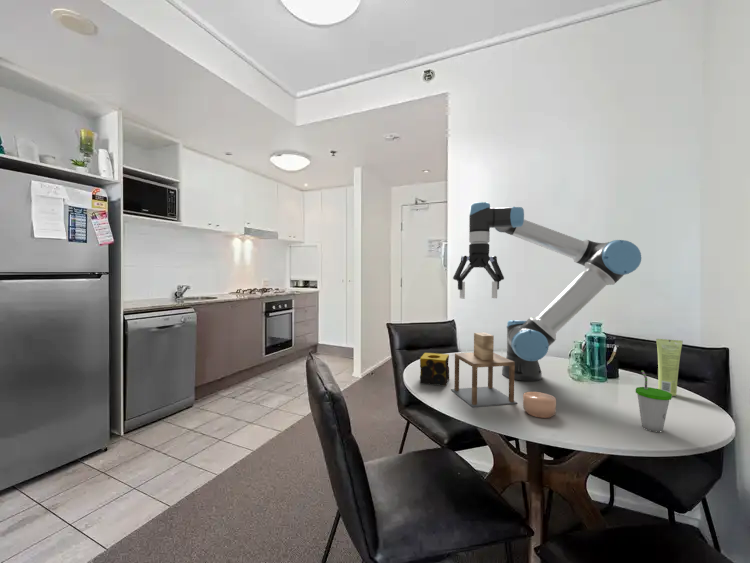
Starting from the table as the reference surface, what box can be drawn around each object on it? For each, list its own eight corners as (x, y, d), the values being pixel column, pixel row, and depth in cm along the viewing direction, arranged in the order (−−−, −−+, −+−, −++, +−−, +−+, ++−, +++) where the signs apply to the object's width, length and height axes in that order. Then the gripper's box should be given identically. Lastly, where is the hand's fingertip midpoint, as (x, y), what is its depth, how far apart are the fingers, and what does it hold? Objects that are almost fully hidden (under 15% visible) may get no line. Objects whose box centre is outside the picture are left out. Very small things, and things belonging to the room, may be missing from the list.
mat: (491, 387, 128) (491, 386, 128) (517, 403, 112) (517, 402, 112) (451, 390, 125) (451, 389, 125) (472, 407, 109) (472, 406, 109)
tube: (664, 390, 125) (666, 337, 125) (681, 395, 120) (682, 340, 120) (654, 392, 123) (656, 338, 123) (670, 397, 118) (672, 341, 118)
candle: (449, 378, 138) (449, 354, 138) (446, 386, 129) (446, 360, 128) (424, 376, 142) (424, 352, 141) (419, 383, 132) (419, 357, 132)
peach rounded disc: (542, 406, 110) (542, 390, 110) (562, 418, 101) (563, 401, 101) (516, 408, 108) (517, 392, 108) (535, 420, 99) (535, 403, 99)
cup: (673, 438, 89) (675, 381, 89) (636, 430, 94) (637, 375, 93) (667, 426, 96) (669, 373, 96) (633, 420, 100) (634, 369, 100)
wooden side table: (490, 387, 127) (491, 330, 126) (513, 401, 113) (515, 337, 112) (454, 389, 124) (455, 331, 123) (473, 404, 110) (474, 339, 109)
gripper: (503, 244, 139) (502, 297, 140) (445, 243, 134) (444, 297, 135) (514, 243, 132) (513, 298, 132) (453, 241, 127) (452, 299, 127)
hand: (478, 298), depth 133 cm, fingers open, 13 cm apart
